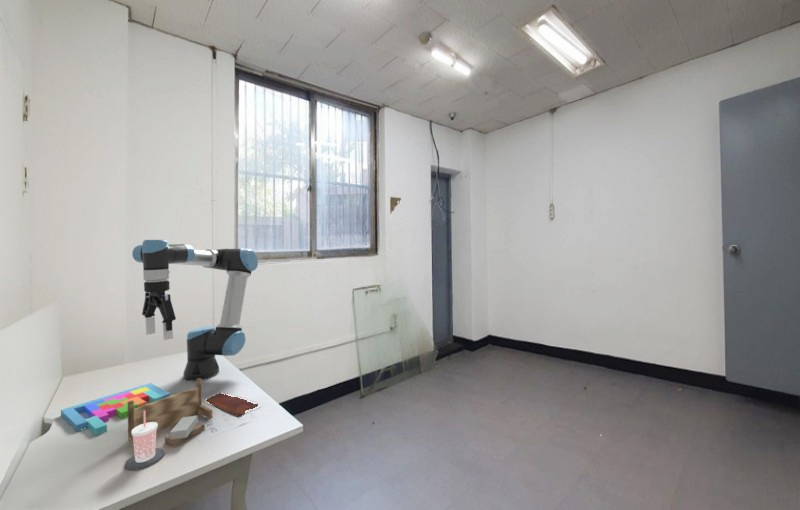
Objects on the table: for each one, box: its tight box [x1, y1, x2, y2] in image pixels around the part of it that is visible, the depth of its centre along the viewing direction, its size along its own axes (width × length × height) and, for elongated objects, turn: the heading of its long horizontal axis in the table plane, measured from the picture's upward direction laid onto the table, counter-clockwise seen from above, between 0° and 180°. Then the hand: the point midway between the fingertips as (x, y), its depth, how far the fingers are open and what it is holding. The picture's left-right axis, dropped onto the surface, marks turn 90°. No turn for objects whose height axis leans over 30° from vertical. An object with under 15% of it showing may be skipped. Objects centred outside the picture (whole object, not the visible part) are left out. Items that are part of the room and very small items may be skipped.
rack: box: [127, 378, 213, 446], centre depth 109 cm, size 22×9×13 cm, turn 149°
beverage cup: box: [131, 410, 158, 463], centre depth 93 cm, size 6×6×14 cm
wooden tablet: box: [205, 392, 259, 417], centre depth 127 cm, size 27×10×2 cm, turn 59°
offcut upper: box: [169, 414, 199, 440], centre depth 105 cm, size 9×5×2 cm, turn 14°
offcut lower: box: [164, 422, 206, 448], centre depth 105 cm, size 10×5×2 cm, turn 160°
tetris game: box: [60, 382, 171, 436], centre depth 123 cm, size 28×3×28 cm
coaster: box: [124, 447, 165, 471], centre depth 93 cm, size 9×9×1 cm
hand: (159, 336), depth 119 cm, fingers open, 13 cm apart
